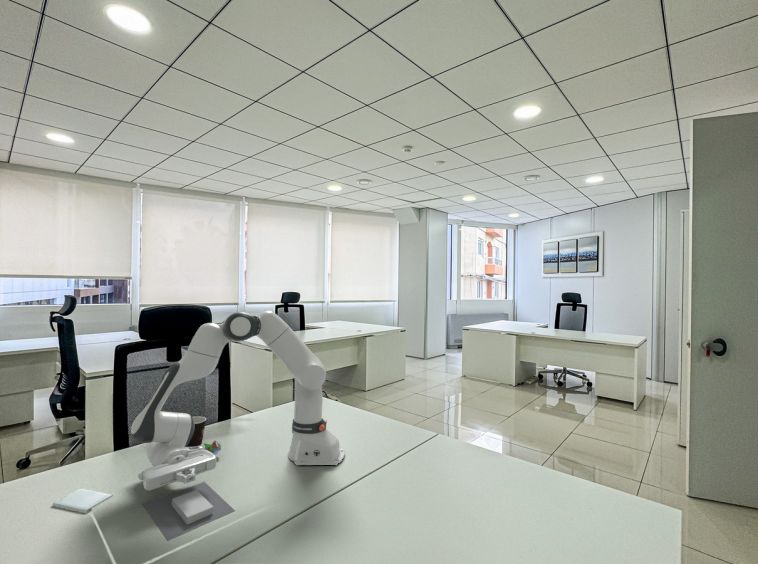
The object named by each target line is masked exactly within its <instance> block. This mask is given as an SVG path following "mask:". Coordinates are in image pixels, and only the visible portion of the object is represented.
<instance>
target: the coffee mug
mask: <svg viewBox="0 0 758 564" xmlns="http://www.w3.org/2000/svg"><path fill="white" fill-rule="evenodd" d="M191 417H192V418H193V421H194V425H195V429H194V433H193V436H192V438H191V440H190V442H189V443H188V445H187V446H186V447H194V446H202V444H203V440H204V439H203V438H204V435H205V428H206V423H207V418H206V417H205V416H191Z"/></svg>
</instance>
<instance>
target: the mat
mask: <svg viewBox="0 0 758 564" xmlns="http://www.w3.org/2000/svg"><path fill="white" fill-rule="evenodd" d="M195 490H197V491H198V492H199V493H200V494H201V495H202V496H203V497H204V498H205V499H206V500H207V501H208V502H209V503H210V504H211V505H212V506H213V514H211V515H209V516H207V517H204V518H202V519H200V520H197V521H195V522H192V523H190V524H188V525H187V524H186V523H185V522H184V520H183V519H182V518H181V517H180V515H179V514H178V513H177V512H176V510H175V509H174V508H173V507H172V499H173V498H176V497H179V496H181V495H184V494H187V493H189V492H192V491H195ZM141 505H142V506H143V507H144V509H145V510H146V511H147V514H148V515H149V517H151V519H152V520H153V522H154V523H155V525H156V527H157V528H158V529H159V531H160V532H161V533H162V535H163V537H164V538H165V540H166V541H171V540H173V539H176V538H178V537H179V536H180V537H181V536H182V535H184V534H186V533H189V532H190V531H193V530H196V529H197V528H200V527H202V526H205V525H206V524H210V523H211V522H213V521H215V520H218V519H220V518H223V517H225V516H228V515H229V514H232V513H234V512H236V510H235V509H234V508H233V507H232V506H231V505H230V504H229V503H228V502H227V501H225V499H224V498H223V497H221V496H220V495H219V494H218V493H217V492H216V491H215V490H214V489H213V488H212V487H211V486H210V485H208V483H207V482H206V481H203V482H202V481H201V482H200V483H196V484H193V485H191V486H188V487H186V488H183V489H180V490H177V491H174V492H170V493H168V494H166V495H162V496H160V497H157V498H154V499H151V500H149V501H146V502H143V503H142V504H141Z"/></svg>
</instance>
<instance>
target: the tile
mask: <svg viewBox="0 0 758 564" xmlns="http://www.w3.org/2000/svg"><path fill="white" fill-rule="evenodd" d="M172 507H173V508H174V509H175V510H176V512H177V513H178V514H179V515H180V517H181V518H182V519H183V520H184V522H185V523H186V524H187V525H188V524H190V523H192V522H195V521H197V520H200V519H202V518H204V517H207V516H209V515H211V514H213V506H212V505H211V504H210V503H209V502H208V501H207V500H206V499H205V498H204V497H203V496H202V495H201V494H200V493H199V492H198V491H197V490H195V491H192V492H189V493H187V494H184V495H181V496H179V497H176V498H173V499H172Z"/></svg>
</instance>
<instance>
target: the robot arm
mask: <svg viewBox="0 0 758 564" xmlns="http://www.w3.org/2000/svg"><path fill="white" fill-rule="evenodd" d="M253 337H258V338H259V339H260V340H261V341H262V342H263V343H264V344H265V345H266V346H267V348H269V350H270V351H271V352H272V353H273V354H274V355H275V356H276V357H277V358H278V360H279V361H281V362H282V364H283V365H284V367H286V369H287V370H288V371H289V373H290V374H291V375H292V376H293V377H294V405H293V406H294V410H293V419H292V423H291V433H292V437H291V443H290V446H289V450H288V454H287V458H288V459H289V460H290V461H294V462H293V463H294V464H296V465H295V466H297V465H336V464H338V463H340V462H341V461H343V460H344V459H345V457H344V455H345V456H346V452H345V449H344V448H342V447H340V441H339V438H338V437H337V436H336V435H335V434H333V433H332V432H331V431H330V430H329V429H328V428H327V423H328V419H326V420H324V418H323V402H324V401H323V400H324V399H323V384H324V383H325V381H326V378H327V369H326V367H325V365H324V364H323V363H322V360H320V358H319V357H318V356H316V355H315V354H314V352H312V351H311V349H309V347H308V346H307V345H306V344H305V342H304V341H303V340H302V339H301V338H300V337H299V336H298V334H296V332H295V331H294V330H293V329H292V328H291V327H290V325H288V323H287V322H286V321H284V319H282V318H281V317H280V316H279V315H278V314H277V313H275V312H273V311H272V310H264V311H261V312H260V313H258V314H257V315H255V314H252V313H249V312H247V311H246V312H245V311H236V312H233V313H230V314H229V315H228V316H227V317H226V318H225V319H224V321H222V322H221V323H214V322H207V323H204V324H202V325H200V327H198V329H197V331H196V332H195V334H194V336H192V339H191V342H190V343H189V346H188V348H187V350H186V352H185V354H184V355H183V357H181V359H180V360H179V361H177V362H174V363H172V364H171V365H170V366H169V367H168V368H167V370H166V371H165V372H164V374H163V375H162V377H161V379H160V381H159V382H158V384H157V385H156V386H155V389H154V391H153V392H152V393H151V396H150V397H149V398H148V400H147V402H146V403H145V405H144V406H143V408H142V409H141V410H140V411H139V413H138V414H137V415H136V416H135V418H134V420H133V422H132V423H131V427H130V435H131V437H132V438H133V440H134V441H135V442H137V443H138V444H148V445H147V447H146V456H147V460H148V463H150V465H151V467H148V468H146V469H144V470H143V471H142V472H140V473H139V474H138V475H137V478H138V480H140V481H142V486H143V488H144V490H146V491H152V490H153V491H154V490H155V489H159V488H162V487H164V486H167V485H168V486H169V485H170V484H174V483H183V484H188V483H191V482H194V481H196V477H197V476H198V475H200V474H203V473H206V472H209V471H212V470H214V469H216V467H217V458H216V457H217V455H214V454H213V453H211V452H210V451H208V450H203V449H204V446H203V445H200V446H194V447H186V446H187V445H188V443H189V442H190V440H191V438H192V436H193V433H194V429H195V425H194V421H193V418H192V417H193V416H191V414H190V413H185V412H172V411H161V410H162V408H163V407H164V405H165V403H166V401H167V399H169V396H170V395H171V393H172V392H173V390H174V389H175V388H176V387H177V386H178V385H180V384H183V383H186V382H190V381H195V380H201V379H203V378H205V377H208V376H209V375H211V374H212V373H213V372H214V370H215V369H216V367H217V365H218V363H219V361H220V357H221V355H222V353H223V350H224V348H225V346H226V345H227V344H228V343H229V342H231V341H232V342H237V343H238V342H239V343H240V342H244V341H247V340H249V339H251V338H253ZM343 458H344V459H343ZM342 459H343V460H342ZM341 463H342V462H341ZM341 463H340V464H341ZM338 465H339V464H338ZM336 466H337V465H336Z"/></svg>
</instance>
